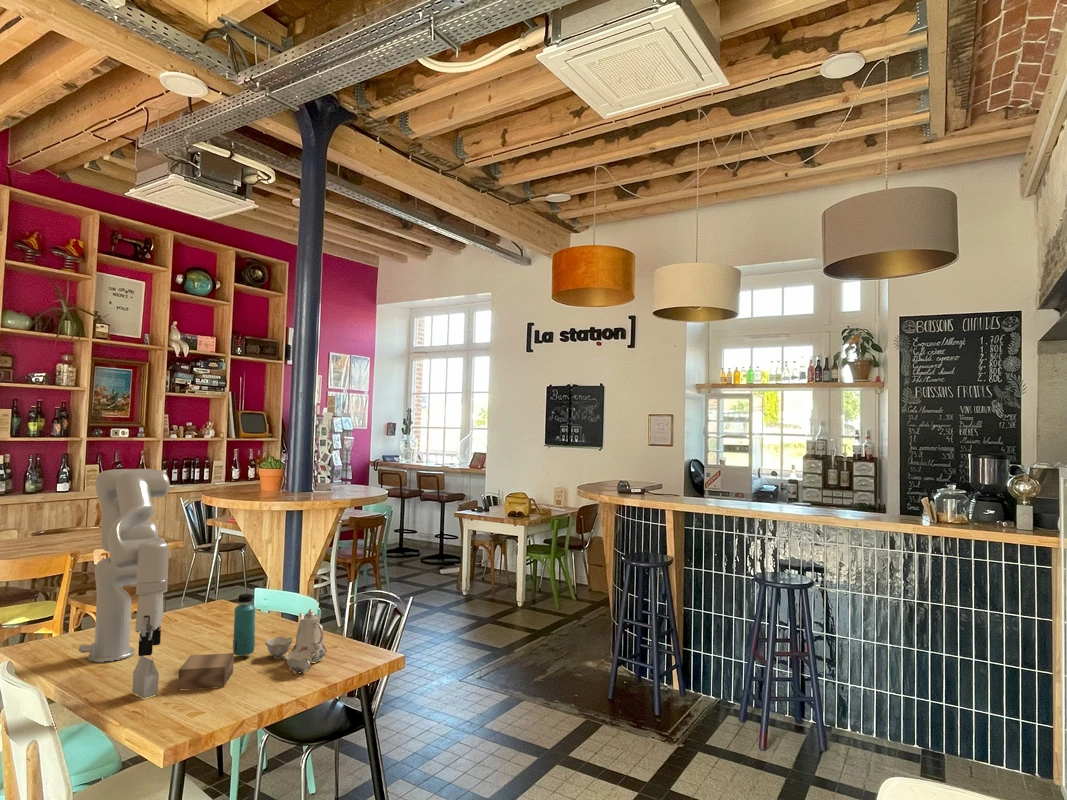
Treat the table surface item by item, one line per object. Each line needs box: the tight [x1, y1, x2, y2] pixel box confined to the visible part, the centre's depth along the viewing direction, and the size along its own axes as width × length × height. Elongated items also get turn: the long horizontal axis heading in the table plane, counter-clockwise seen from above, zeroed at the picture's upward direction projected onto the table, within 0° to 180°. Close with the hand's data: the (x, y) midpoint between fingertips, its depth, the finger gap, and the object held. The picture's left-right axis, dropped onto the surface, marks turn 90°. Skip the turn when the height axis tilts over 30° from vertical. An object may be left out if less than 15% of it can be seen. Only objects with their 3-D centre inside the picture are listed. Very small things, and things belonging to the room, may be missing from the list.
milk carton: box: [132, 656, 160, 698], centre depth 182 cm, size 4×7×10 cm, turn 54°
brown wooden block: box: [177, 652, 235, 691], centre depth 192 cm, size 12×12×6 cm
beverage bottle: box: [232, 593, 256, 657], centre depth 213 cm, size 6×7×20 cm
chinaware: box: [265, 608, 327, 674], centre depth 209 cm, size 28×17×17 cm, turn 46°
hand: (149, 650), depth 182 cm, fingers open, 9 cm apart
